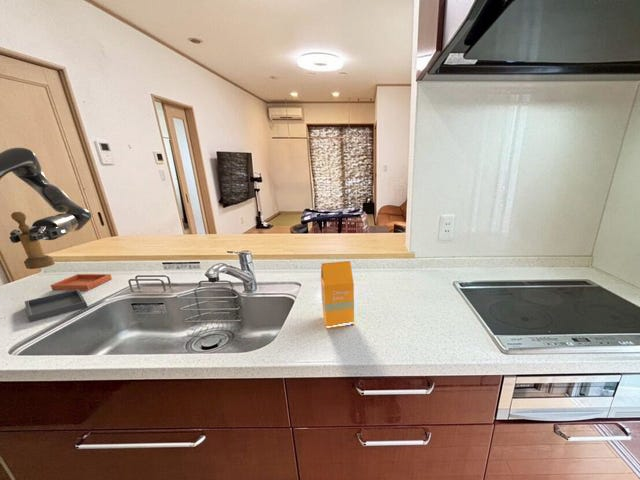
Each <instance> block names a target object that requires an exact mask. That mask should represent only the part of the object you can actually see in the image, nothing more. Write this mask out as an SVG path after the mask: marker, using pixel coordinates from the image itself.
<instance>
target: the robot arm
mask: <svg viewBox="0 0 640 480" xmlns="http://www.w3.org/2000/svg"><path fill="white" fill-rule="evenodd" d="M9 173H12V174H13V175H14V176H16V178H18V179H20V181H23V182H24V183H26V184H27V185H28V186H29V187H30V188H32V190H34V191H35V192H36V193H37V194H38V195H39V196H40V197H41V198H42V199H43V200H44V201H45V203H47V205H49V206H50V207H51V209H53V211H55V212H57V213H58V214H55V215H50V216H47V217H44V218H40V219H37V220H36V221H34V222H33V223H32V225H31V226H29V232H35V233H33V234H31V235H29V238H30V240H31V242H35V241H38V240H39V241H40V240H43V241H44V240H45V241H54V240H58V239H60V238H61V237H64V236H65V235H68V234H70V232H78V231H80V230H82V229H83V228H84V227H85V226H86V225H87V224H88V223H89V222H90V221H91V220H92V218H93V215H92V212H90V210H88V209H87V208H85V207H84V206H81V205H80V204H78V203H76V202H75V201H74V200H73V199H72V198H71V197H70V196H69V195H67V194H66V192H65V191H64V190H62V189H61V188H60V187H59V186H57V185H55V184H53V183H51V182H50V180H49V179H47V177H46V176H45V174H44V172H43V171H42V166H41V164H40V161H39V159H38V157H37V155H36V154H35V152H34V151H32V150H31V149H29V148H25V147H11V148H7V149H5V150H3V151H1V152H0V181H1V180H2V179H3V178H4V177H5V176H6V175H8V174H9ZM21 233H23V232H22V231H21V230H20V229H16V228H15V229H12V231H10V232H9V235H10V236H9V240H10V242H11V243H13V244H17V243H19V242H20V243H21V241H20V239H19V237H18V234H21Z"/></svg>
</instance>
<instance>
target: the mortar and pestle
mask: <svg viewBox="0 0 640 480" xmlns="http://www.w3.org/2000/svg"><path fill="white" fill-rule="evenodd" d="M10 217H11V219H12V220H13V221H15V222H16V223H17V224H18V226H17V227H18V228H17V229H18V230H20V232H21V231H22V232H23V233H21V234H18V237H19V239H20V243H21V245H22V247H23V249H24V252H25V254H26V256H27V258H25V260H24V261H23V264H24V266H25V269H27V270H36V269H37V270H38V269H44V268H47V267H51V266H53V265H55V264H56V263H55V261H54V258H53V257H52V256H50V255H47V254H45V251H44V249H43V247H42V245H41V243H40V240H38V241H35V242H31V240H30V238H29V235H31V234H33V233H35V232H29V227H30V226H29V225H28V224H26V220H27V216H26V214H25V213H24V212H22V211H14V212H12V213H11V214H10Z"/></svg>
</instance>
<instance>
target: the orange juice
mask: <svg viewBox="0 0 640 480" xmlns="http://www.w3.org/2000/svg"><path fill="white" fill-rule="evenodd" d="M353 278H354V277H353V270H352V264H351V260H348V261H336V262H335V261H334V262H323V263H321V270H320V285H321V286H320V287H321V303H322V305H321V306H322V319H323V322H324V324H325V323H326V325H325V329H326V330H329V329H337V328H343V327H342V326H338V327H331V328H326V326H333V325H338V324H343V323H349V322H354V323H355V293H354V292H355V287H354V284H355V283H354V279H353ZM323 316H324V318H323ZM324 320H325V321H324Z"/></svg>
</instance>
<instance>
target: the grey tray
mask: <svg viewBox="0 0 640 480" xmlns="http://www.w3.org/2000/svg"><path fill="white" fill-rule="evenodd" d="M24 305H25V311H26V312H25V313H26V317H27V319H28V321H29V323H33V322H37V321H40V320H44V319H49V318H52V317H56V316H60V315H63V314H67V313H71V312H74V311H78V310H82V309H86V308H89V306H88V304H87V301H86V299H85V298H84V296H83V294H82V292H81V290H79V289H76V290H67V291H64V292H60V293H55V294H50V295H46V296H41V297H37V298H33V299H29V300H24Z"/></svg>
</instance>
